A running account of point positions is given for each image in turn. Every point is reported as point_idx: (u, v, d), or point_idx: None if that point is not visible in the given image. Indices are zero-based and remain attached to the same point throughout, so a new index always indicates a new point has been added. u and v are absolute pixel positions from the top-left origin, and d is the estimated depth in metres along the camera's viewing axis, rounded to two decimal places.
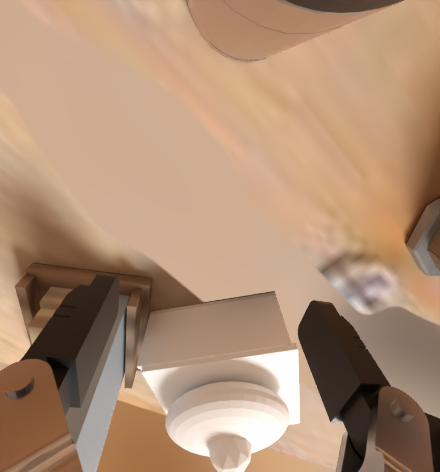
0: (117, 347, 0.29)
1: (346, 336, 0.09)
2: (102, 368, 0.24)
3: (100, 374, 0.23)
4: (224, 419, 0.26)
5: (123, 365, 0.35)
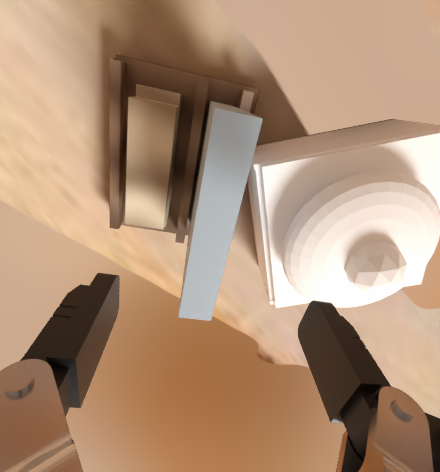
0: None
1: (346, 336, 0.09)
2: (243, 110, 0.18)
3: None
4: (380, 208, 0.21)
5: None
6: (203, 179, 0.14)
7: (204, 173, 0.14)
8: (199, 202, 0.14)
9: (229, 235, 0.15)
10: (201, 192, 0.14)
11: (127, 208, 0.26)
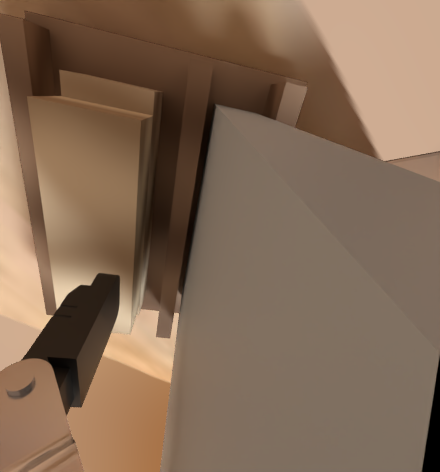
0: None
1: None
2: (320, 138, 0.06)
3: (331, 142, 0.06)
4: None
5: None
6: None
7: None
8: None
9: None
10: None
11: None
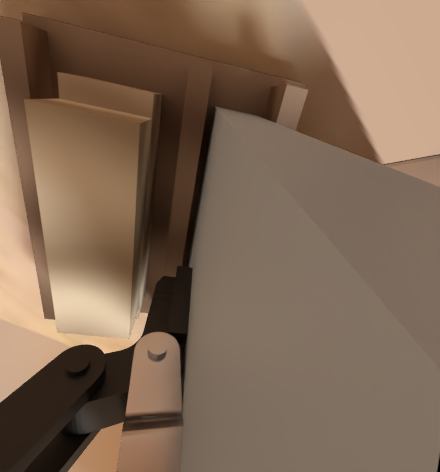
0: None
1: None
2: (323, 143, 0.06)
3: (335, 147, 0.05)
4: None
5: None
6: None
7: None
8: None
9: None
10: None
11: (58, 309, 0.14)
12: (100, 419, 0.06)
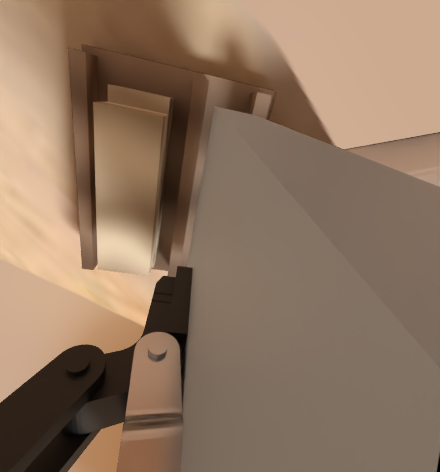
0: None
1: None
2: (323, 143, 0.06)
3: (334, 147, 0.05)
4: None
5: None
6: None
7: None
8: None
9: None
10: None
11: (100, 250, 0.19)
12: (100, 419, 0.06)
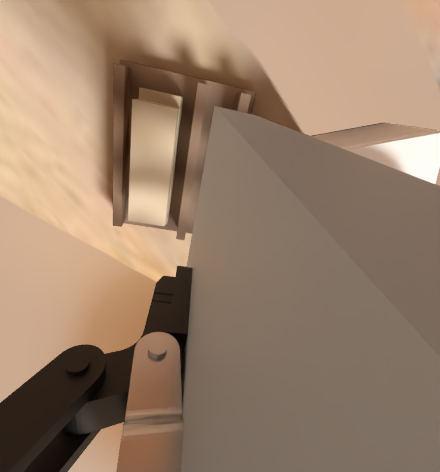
0: None
1: None
2: (322, 142, 0.06)
3: (333, 146, 0.05)
4: None
5: None
6: None
7: None
8: None
9: None
10: None
11: (130, 205, 0.27)
12: (100, 419, 0.06)
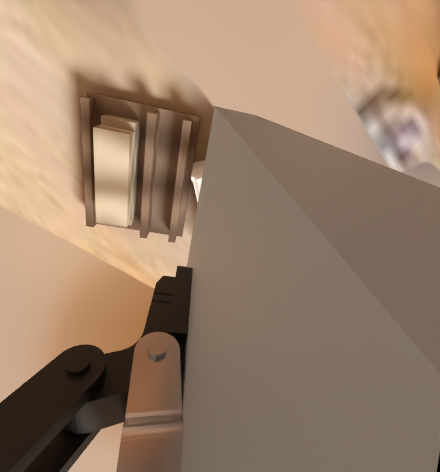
0: None
1: None
2: (322, 143, 0.06)
3: (333, 147, 0.05)
4: None
5: None
6: None
7: None
8: None
9: None
10: None
11: (97, 210, 0.33)
12: (100, 419, 0.06)
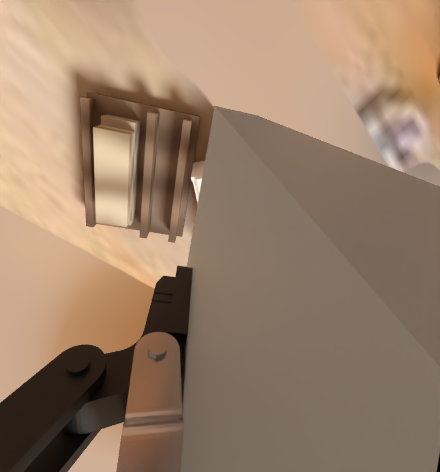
0: None
1: None
2: (321, 142, 0.06)
3: (333, 146, 0.06)
4: None
5: None
6: None
7: None
8: None
9: None
10: None
11: (97, 210, 0.33)
12: (100, 419, 0.06)
